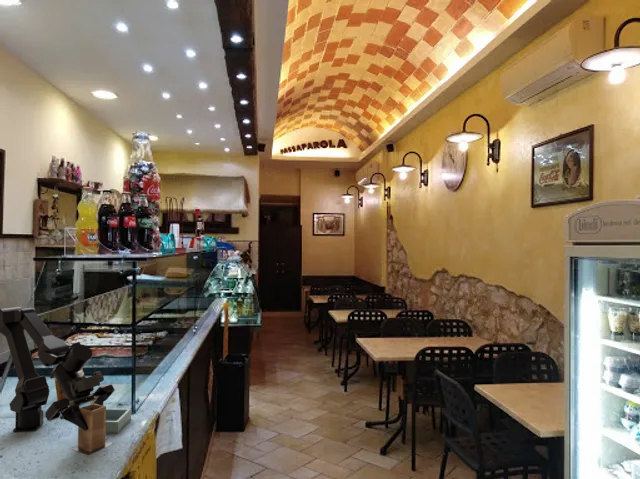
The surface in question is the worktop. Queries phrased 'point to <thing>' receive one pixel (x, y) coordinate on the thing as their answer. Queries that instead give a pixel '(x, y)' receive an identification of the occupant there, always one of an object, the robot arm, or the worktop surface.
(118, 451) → the worktop surface
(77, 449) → the stake base
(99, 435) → the sleeve
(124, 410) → the tray
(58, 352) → the robot arm
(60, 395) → the disposable coffee cup
